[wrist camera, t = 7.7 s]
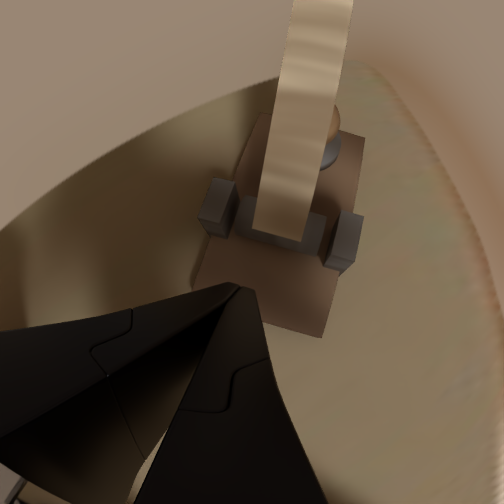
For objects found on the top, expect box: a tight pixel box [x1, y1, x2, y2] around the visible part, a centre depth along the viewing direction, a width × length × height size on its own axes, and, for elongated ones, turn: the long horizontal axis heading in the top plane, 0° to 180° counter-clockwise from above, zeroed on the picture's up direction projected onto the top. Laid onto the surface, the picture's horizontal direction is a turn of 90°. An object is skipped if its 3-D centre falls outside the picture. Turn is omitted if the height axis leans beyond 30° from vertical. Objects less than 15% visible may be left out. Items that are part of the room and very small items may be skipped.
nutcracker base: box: [191, 105, 365, 338], centre depth 16 cm, size 14×8×6 cm, turn 162°
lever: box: [234, 0, 354, 257], centre depth 12 cm, size 4×4×17 cm
